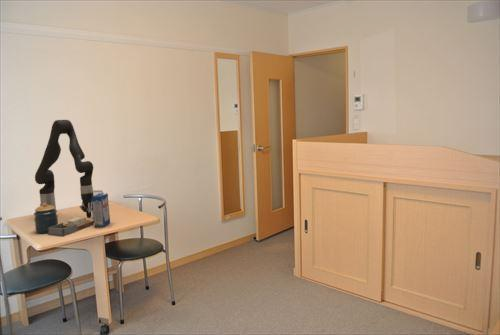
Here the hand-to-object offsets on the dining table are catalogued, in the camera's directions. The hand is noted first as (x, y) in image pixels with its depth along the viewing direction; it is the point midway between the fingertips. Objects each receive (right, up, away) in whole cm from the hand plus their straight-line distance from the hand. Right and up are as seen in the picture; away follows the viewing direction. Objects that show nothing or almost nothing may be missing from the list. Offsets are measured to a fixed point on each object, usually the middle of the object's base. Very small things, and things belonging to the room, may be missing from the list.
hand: (89, 217), depth 262 cm
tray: (-8, -7, -20) cm, 23 cm away
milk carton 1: (+2, -2, +14) cm, 14 cm away
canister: (-20, -7, -14) cm, 26 cm away
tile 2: (-3, -2, -7) cm, 8 cm away
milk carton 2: (+11, -4, -7) cm, 14 cm away
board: (-3, -5, -9) cm, 10 cm away
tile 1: (-5, -3, -12) cm, 13 cm away
